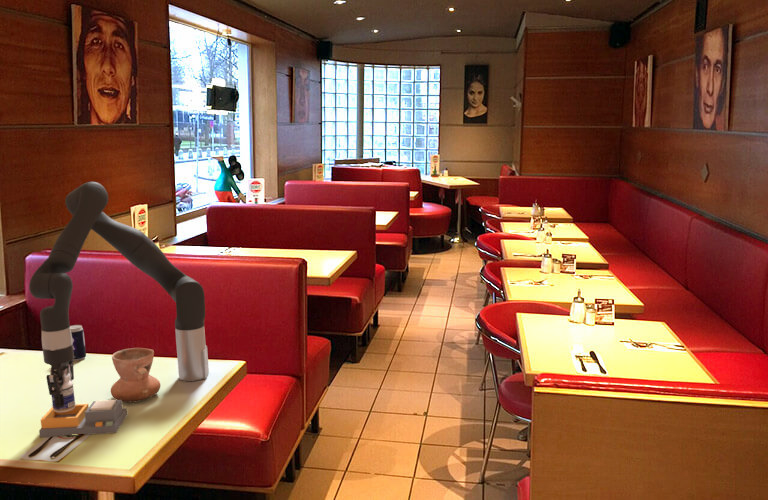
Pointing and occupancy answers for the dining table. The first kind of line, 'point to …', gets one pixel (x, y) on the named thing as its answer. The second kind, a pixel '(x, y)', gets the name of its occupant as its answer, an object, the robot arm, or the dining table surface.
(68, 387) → the pill bottle
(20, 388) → the dining table surface
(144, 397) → the ceramic jug
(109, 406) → the button
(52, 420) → the grey and orange tray
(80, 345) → the beverage can
